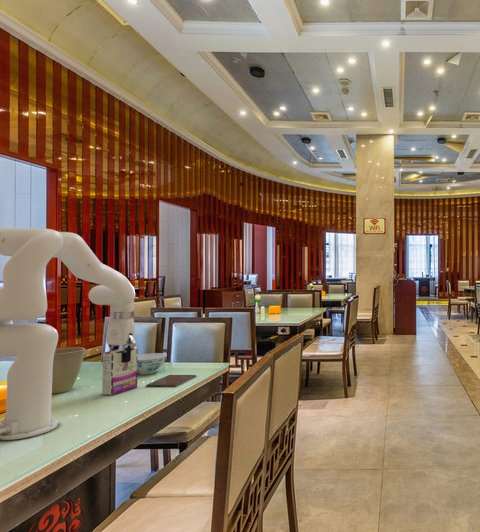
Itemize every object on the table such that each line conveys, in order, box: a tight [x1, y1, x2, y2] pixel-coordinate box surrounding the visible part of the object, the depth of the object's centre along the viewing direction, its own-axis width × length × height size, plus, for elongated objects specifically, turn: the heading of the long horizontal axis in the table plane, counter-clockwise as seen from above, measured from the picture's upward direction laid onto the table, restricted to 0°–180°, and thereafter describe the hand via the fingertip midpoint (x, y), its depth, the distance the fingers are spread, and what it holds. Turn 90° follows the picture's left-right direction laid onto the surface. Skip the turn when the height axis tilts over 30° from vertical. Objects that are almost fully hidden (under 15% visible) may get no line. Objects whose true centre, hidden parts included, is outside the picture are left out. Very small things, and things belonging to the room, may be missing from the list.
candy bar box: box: [101, 346, 139, 396], centre depth 148 cm, size 11×5×16 cm, turn 168°
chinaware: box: [137, 352, 168, 376], centre depth 176 cm, size 15×15×8 cm
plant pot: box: [52, 347, 86, 395], centre depth 147 cm, size 15×15×16 cm
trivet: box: [145, 374, 197, 388], centre depth 162 cm, size 16×12×1 cm
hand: (120, 361), depth 148 cm, fingers closed on candy bar box, 5 cm apart
